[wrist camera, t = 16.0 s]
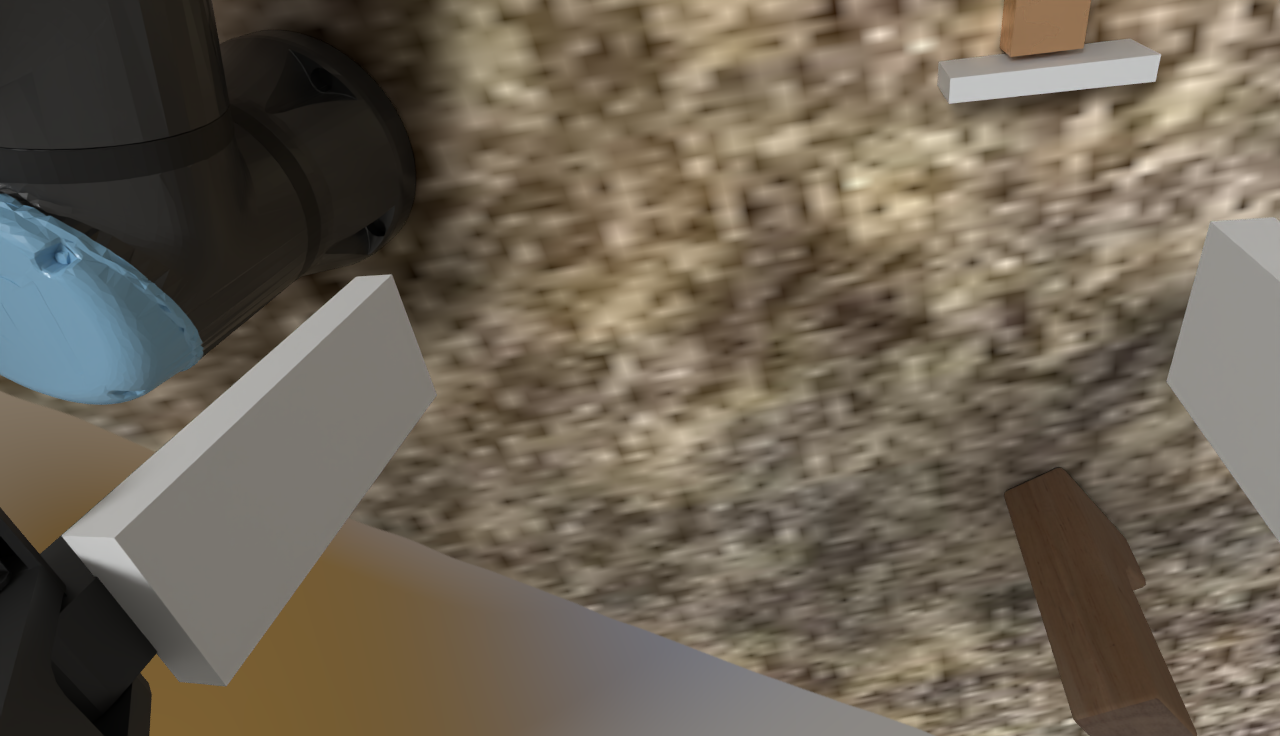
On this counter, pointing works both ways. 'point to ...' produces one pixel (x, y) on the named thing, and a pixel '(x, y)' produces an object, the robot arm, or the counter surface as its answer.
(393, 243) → the counter surface
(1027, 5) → the plate
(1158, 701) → the wooden block
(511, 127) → the counter surface
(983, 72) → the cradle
